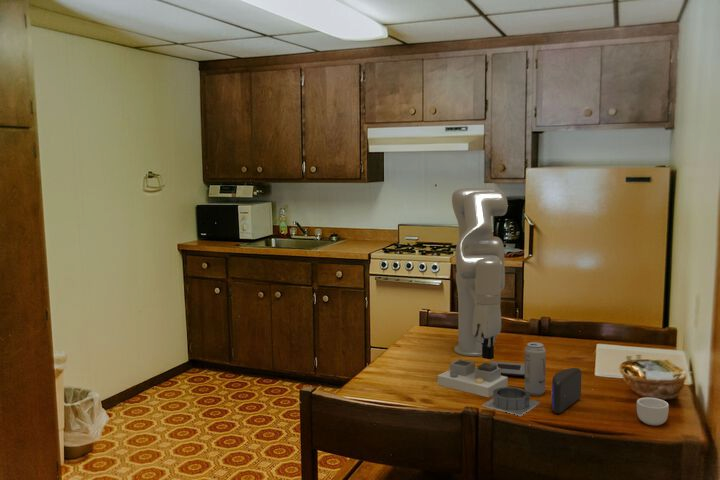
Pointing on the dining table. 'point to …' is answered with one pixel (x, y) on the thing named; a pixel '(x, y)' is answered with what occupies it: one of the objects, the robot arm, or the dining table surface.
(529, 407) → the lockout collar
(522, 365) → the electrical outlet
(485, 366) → the tagged breaker
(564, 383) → the leaning round-cornered charcoal block
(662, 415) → the teacup
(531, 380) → the energy drink can
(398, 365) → the dining table surface
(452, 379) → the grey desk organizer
